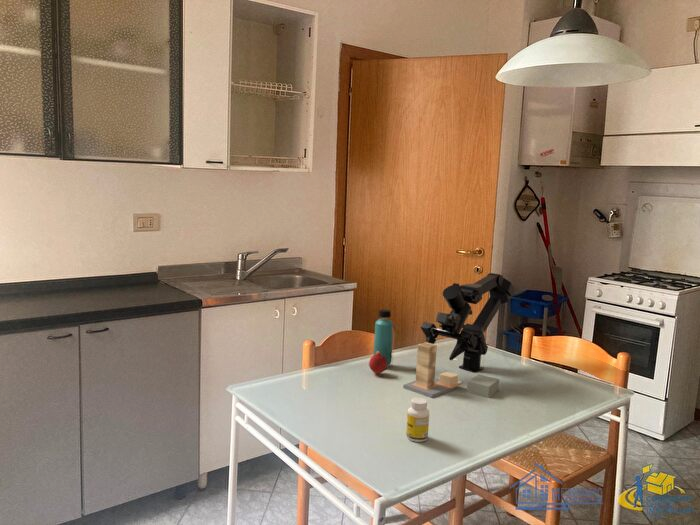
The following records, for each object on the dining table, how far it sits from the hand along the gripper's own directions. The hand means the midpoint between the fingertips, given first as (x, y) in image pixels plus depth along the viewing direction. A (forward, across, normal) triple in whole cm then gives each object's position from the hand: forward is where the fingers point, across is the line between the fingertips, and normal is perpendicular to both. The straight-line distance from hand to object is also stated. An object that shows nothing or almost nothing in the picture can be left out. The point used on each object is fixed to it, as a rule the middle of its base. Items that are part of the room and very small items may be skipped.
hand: (437, 356), depth 187 cm
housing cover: (+3, +14, +10) cm, 17 cm away
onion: (+12, -18, +1) cm, 22 cm away
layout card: (+3, +2, +10) cm, 11 cm away
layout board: (+10, +1, +3) cm, 10 cm away
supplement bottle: (+34, +19, -22) cm, 44 cm away
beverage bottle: (+6, -23, +7) cm, 24 cm away
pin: (+10, 0, +1) cm, 10 cm away
